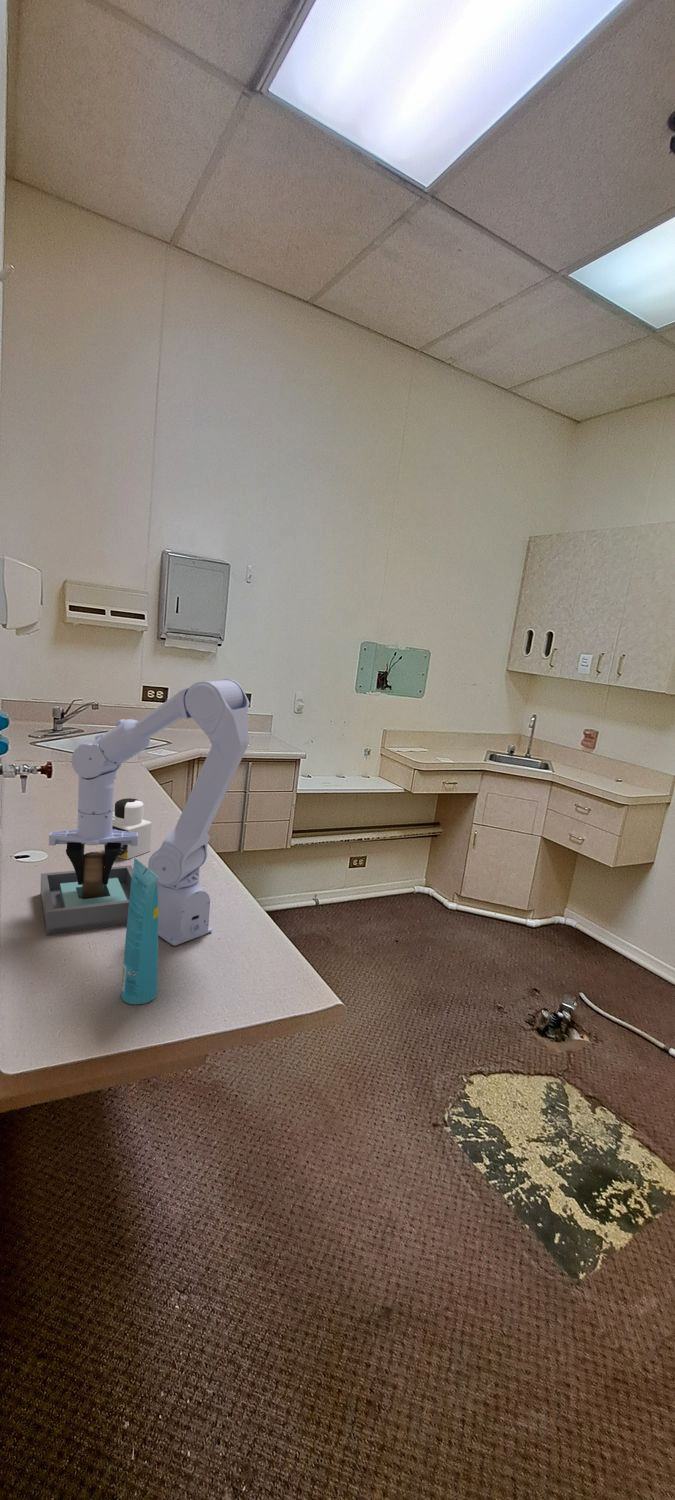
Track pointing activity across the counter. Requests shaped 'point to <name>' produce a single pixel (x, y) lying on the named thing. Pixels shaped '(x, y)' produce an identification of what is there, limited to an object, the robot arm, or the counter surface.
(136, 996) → the tube
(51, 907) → the tray
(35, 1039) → the counter surface
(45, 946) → the counter surface
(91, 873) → the peg
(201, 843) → the robot arm
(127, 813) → the medicine bottle
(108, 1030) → the counter surface
